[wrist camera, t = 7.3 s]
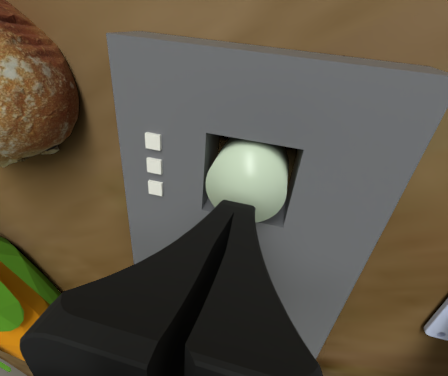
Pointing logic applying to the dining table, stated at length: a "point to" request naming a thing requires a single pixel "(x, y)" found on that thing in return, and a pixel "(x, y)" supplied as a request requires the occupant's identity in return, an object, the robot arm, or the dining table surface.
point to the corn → (20, 298)
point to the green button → (250, 176)
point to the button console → (277, 135)
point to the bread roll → (32, 90)
